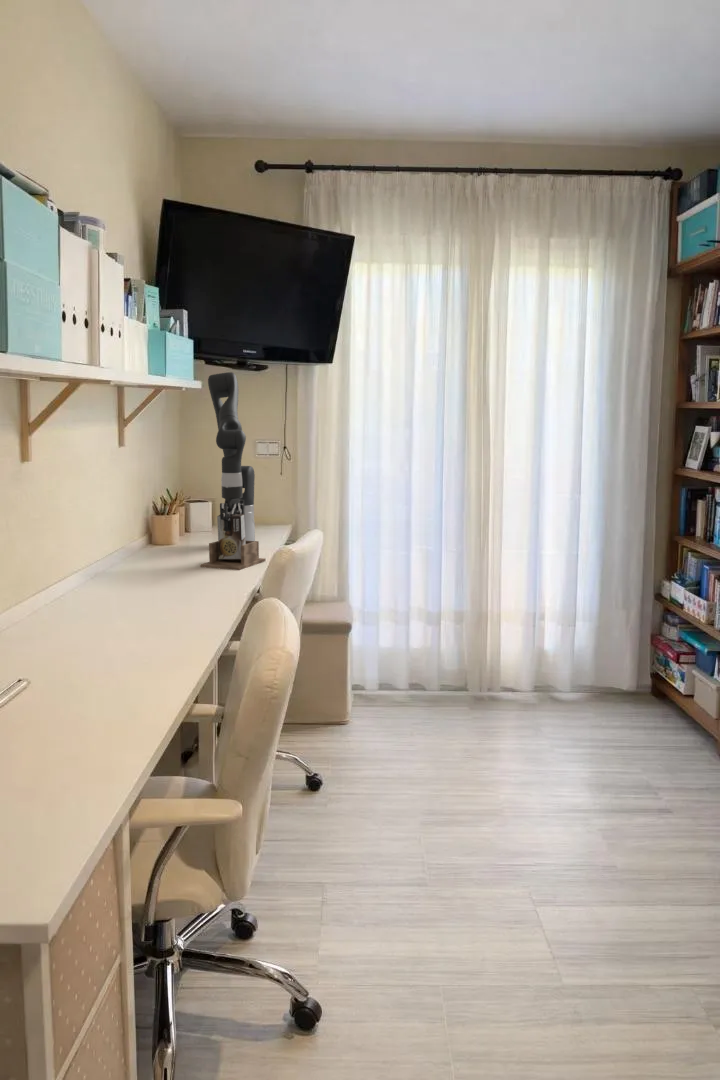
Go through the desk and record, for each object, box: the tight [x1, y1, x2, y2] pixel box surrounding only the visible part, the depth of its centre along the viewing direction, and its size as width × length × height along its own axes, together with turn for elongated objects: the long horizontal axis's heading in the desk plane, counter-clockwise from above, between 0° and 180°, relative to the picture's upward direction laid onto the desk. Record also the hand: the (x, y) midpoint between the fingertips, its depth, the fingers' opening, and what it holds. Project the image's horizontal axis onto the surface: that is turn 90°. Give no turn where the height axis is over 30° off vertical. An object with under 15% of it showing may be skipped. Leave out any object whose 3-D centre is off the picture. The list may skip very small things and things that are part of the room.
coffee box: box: [216, 514, 246, 559], centre depth 329 cm, size 9×6×16 cm
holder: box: [199, 540, 266, 571], centre depth 330 cm, size 20×16×8 cm
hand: (232, 529), depth 329 cm, fingers closed on coffee box, 7 cm apart
